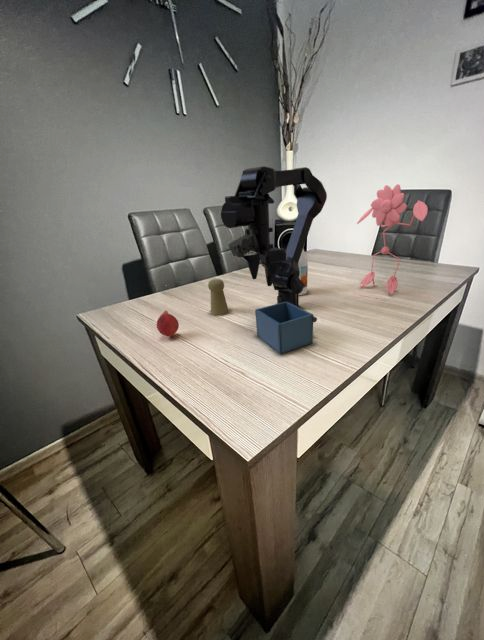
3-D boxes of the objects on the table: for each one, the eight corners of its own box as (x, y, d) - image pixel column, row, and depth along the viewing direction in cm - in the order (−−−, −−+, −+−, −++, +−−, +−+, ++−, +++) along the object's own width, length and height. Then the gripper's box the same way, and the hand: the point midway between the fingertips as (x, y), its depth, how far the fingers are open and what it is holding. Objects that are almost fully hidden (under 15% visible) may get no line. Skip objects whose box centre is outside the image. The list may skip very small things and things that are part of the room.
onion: (169, 343, 75) (162, 316, 71) (155, 338, 78) (148, 312, 74) (185, 334, 79) (179, 308, 75) (171, 331, 82) (165, 305, 78)
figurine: (358, 281, 117) (370, 186, 100) (417, 295, 98) (444, 181, 80) (333, 288, 110) (341, 188, 92) (390, 305, 91) (414, 182, 73)
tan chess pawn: (225, 315, 91) (221, 282, 85) (208, 314, 92) (203, 282, 87) (230, 308, 96) (227, 277, 90) (214, 308, 97) (210, 277, 92)
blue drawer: (296, 324, 81) (296, 298, 77) (322, 339, 72) (323, 311, 68) (257, 336, 76) (255, 309, 72) (280, 354, 67) (278, 325, 63)
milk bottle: (294, 297, 103) (294, 241, 93) (283, 292, 109) (283, 238, 100) (310, 293, 106) (313, 238, 96) (299, 288, 112) (300, 236, 102)
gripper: (217, 225, 76) (224, 280, 84) (246, 229, 62) (251, 296, 70) (253, 221, 81) (256, 274, 88) (287, 225, 66) (288, 287, 74)
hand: (261, 282), depth 80 cm, fingers open, 9 cm apart
